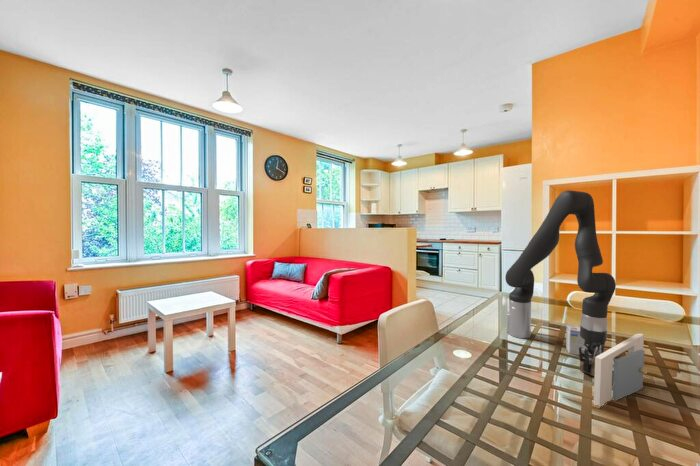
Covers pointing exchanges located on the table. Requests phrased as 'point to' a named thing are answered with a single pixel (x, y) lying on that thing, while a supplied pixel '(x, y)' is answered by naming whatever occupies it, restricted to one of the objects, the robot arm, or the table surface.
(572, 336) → the light bulb box
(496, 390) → the table surface
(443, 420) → the table surface
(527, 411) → the table surface
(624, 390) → the door
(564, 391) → the table surface
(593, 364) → the block
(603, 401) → the wall frame
